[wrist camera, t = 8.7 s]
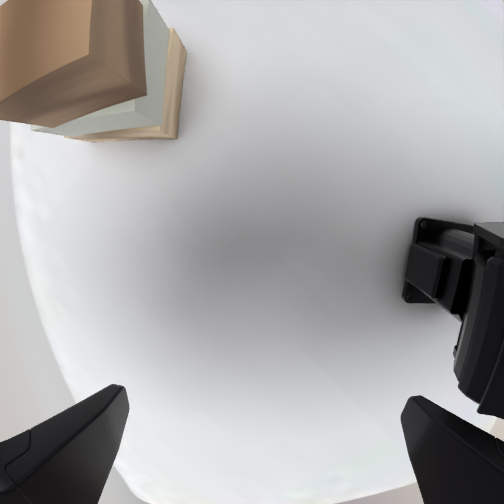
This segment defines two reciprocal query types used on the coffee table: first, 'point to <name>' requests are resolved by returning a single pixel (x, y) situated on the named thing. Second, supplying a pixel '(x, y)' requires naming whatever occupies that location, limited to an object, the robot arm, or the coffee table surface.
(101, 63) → the walnut block
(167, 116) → the tower base
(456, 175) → the coffee table surface
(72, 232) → the coffee table surface
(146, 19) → the tower top
